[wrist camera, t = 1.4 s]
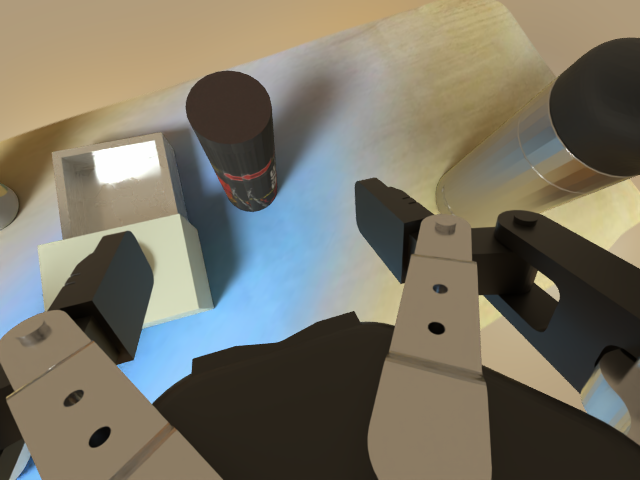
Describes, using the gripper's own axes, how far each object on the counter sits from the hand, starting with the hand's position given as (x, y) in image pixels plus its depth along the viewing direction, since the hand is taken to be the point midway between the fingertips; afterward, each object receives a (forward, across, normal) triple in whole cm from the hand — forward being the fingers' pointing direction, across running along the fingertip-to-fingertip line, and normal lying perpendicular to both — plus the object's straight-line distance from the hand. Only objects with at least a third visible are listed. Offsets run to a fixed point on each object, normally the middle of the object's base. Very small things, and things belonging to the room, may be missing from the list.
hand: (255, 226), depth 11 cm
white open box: (+26, +13, +8) cm, 30 cm away
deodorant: (+25, 0, +9) cm, 27 cm away
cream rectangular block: (+19, +13, +14) cm, 27 cm away
